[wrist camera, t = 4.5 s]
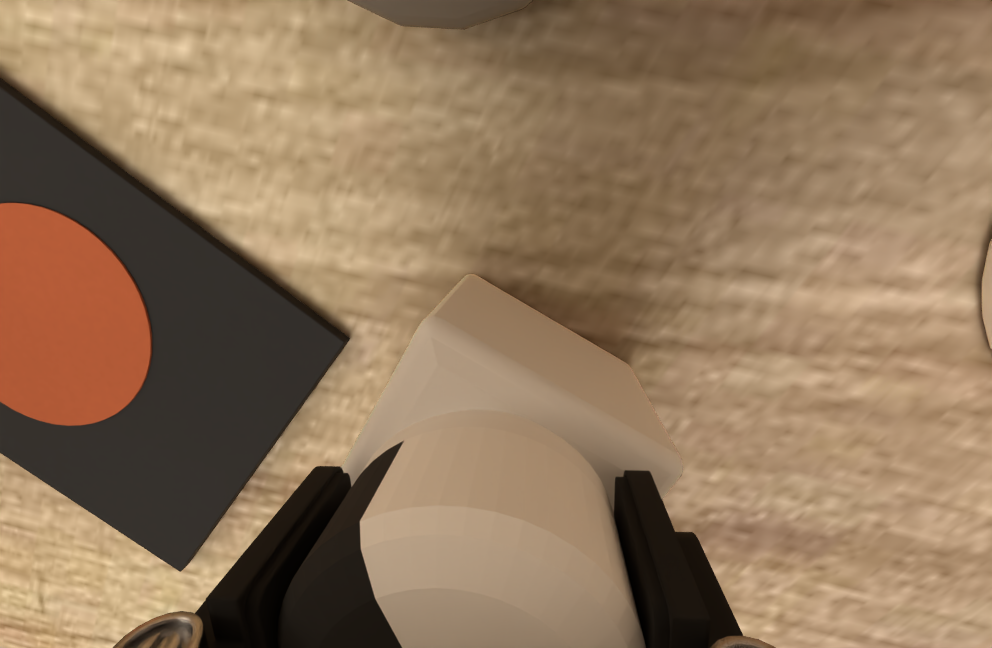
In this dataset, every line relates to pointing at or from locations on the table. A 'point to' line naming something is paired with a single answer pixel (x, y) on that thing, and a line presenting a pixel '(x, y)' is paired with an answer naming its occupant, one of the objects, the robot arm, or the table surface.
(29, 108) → the mat
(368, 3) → the cup
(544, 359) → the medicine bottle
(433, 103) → the table surface
